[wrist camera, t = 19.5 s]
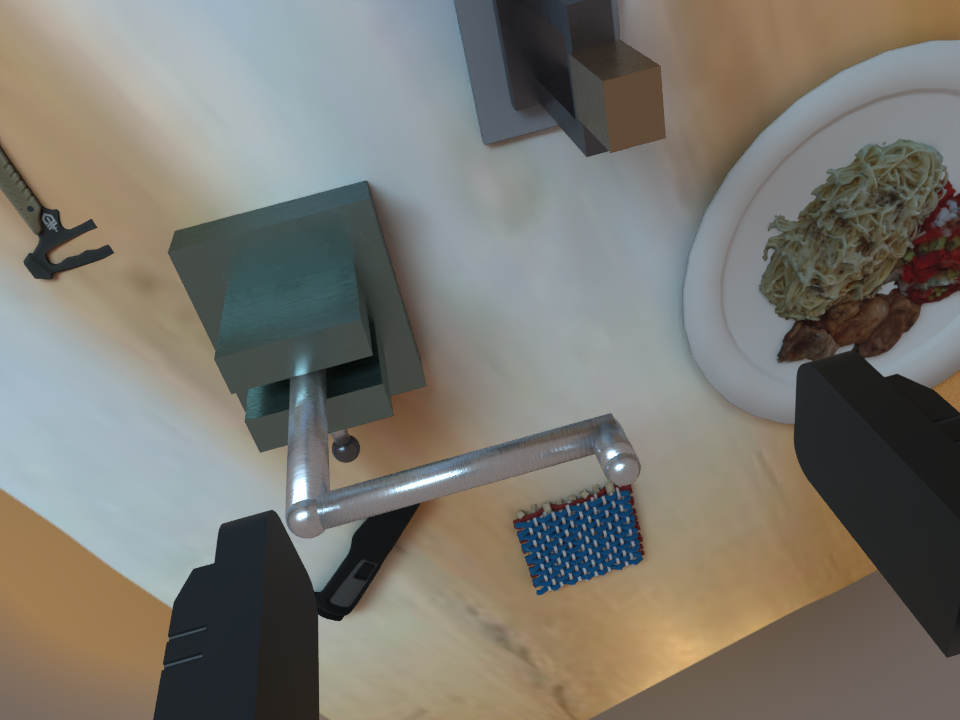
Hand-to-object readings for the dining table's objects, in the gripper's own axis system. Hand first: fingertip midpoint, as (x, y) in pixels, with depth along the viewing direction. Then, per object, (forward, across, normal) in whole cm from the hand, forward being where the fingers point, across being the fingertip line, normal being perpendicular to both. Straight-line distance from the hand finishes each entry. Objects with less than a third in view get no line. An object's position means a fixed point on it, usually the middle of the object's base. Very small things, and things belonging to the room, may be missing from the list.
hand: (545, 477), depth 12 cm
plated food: (+39, -31, +24) cm, 55 cm away
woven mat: (+39, -6, +45) cm, 60 cm away
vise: (+38, +5, +17) cm, 42 cm away
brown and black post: (+38, -9, +3) cm, 39 cm away
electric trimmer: (+39, +12, +39) cm, 56 cm away
